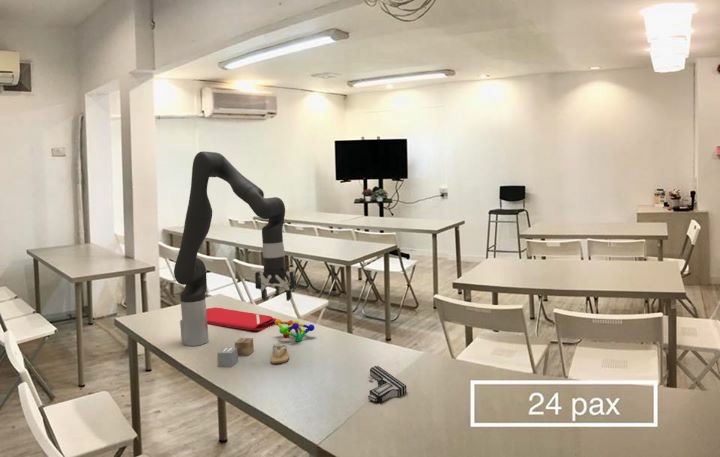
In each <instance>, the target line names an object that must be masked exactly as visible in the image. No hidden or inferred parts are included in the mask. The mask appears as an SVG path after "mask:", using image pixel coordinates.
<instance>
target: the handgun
mask: <svg viewBox="0 0 720 457" xmlns="http://www.w3.org/2000/svg"><path fill="white" fill-rule="evenodd" d="M369 372H370V373H369V374H370V375H368V379H370V380H371V381H372V380H375V381H376V380H377V381H376V382H377V387H374V388H373V389H370V390H369V395H368V396H367V397H368V400H369V401H372V402H374V403H377V402H378V404H379V403H380V404H383V403H384V401H385V400H386V401H388V400H389V398H390V399H391V397H392V398H401V397H400V396H402V395H404V394H405V393H406V392H408V391H407V385H406V384H405V383H403V382H402V381H401V380H399V379H398V378H396V377H394V375H392V374H391V373H390V372H387V371H386V370H385V369H383V368H382V367H380V365H379V366H378V365H374V366H372V367H371V368H369ZM406 394H407V393H406ZM406 394H405V395H406ZM405 395H404V396H405ZM402 397H403V396H402ZM387 399H388V400H387ZM386 401H385V402H386ZM382 402H383V403H382Z"/></svg>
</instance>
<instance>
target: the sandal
mask: <svg viewBox="0 0 720 457" xmlns="http://www.w3.org/2000/svg"><path fill="white" fill-rule="evenodd" d="M287 348H288V346H287V344H286V343H281V342H280V343H275V344H273V346H272V351H273V354H272V355H271V356H270V359H269V361H270V364H273V365H275V364H282V363H286V362H288V361H289V359H290V355H289V353H288V351H287V350H288V349H287Z"/></svg>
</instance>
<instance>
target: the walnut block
mask: <svg viewBox="0 0 720 457" xmlns="http://www.w3.org/2000/svg"><path fill="white" fill-rule="evenodd" d="M234 348H237V354H238V357H249V356H251V355H252V353H253V352H254V351H255V349H254V338H252V337H239V338H238V339H237V340H236V341H235V342H234Z"/></svg>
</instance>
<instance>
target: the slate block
mask: <svg viewBox="0 0 720 457" xmlns="http://www.w3.org/2000/svg"><path fill="white" fill-rule="evenodd" d="M238 362H239V356H238V354H237V348H235V347H222V349H220V350H219V351H218V352H217V365H218V367H220V368H221V367H225V368H233V367H234V366H235V365H236V364H237V363H238Z"/></svg>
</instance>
